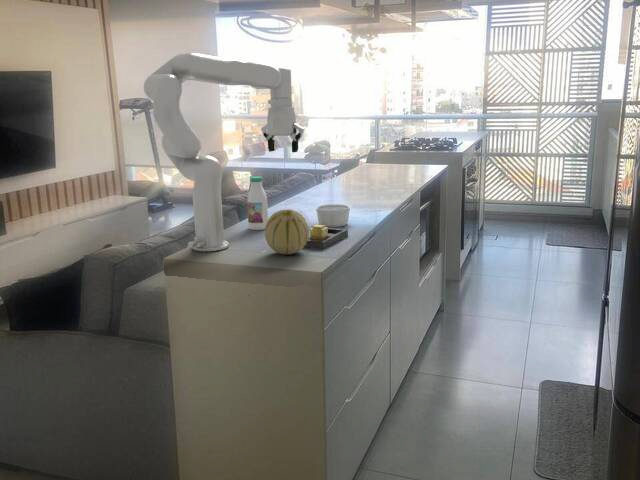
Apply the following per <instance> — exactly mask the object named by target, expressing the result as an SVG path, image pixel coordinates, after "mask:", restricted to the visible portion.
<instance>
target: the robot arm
mask: <svg viewBox="0 0 640 480" xmlns="http://www.w3.org/2000/svg"><path fill="white" fill-rule="evenodd" d="M186 81H195V82H202V83H207V84H208V83H209V84H216V85H221V86H249V87H251V88H252V89H256V90H269V91H270V99H268V100H267V104H268V105H269V104H270V107H268V110H267V120H266V121H267V122H266V125H264V126H262V127H260V130H261V133H262V134H263V136H264V138H265V140H266V141H267V149H268V152H270V153H271V152H275V149H276V148H275V139H274V138H275V137H276V136H277V137H279V136H280V137H282V136H283V137H287V136H289V137H290V138H291V139H292V140H291V152H292V153H297V152H299V151H298V150H299V141H300V139H301V138H302V137H303V134H304V132H305V128H304V127H303V126H301V125H299V124H298V123H297V118H296V111H295V107H294V106H293V94H292V89H293V88H292V70H291V69H290V68H289V67H288V66H274V65H271V64H265V63H258V62H251V61H244V60H238V59H231V58H226V57H219V56H213V55H209V54H208V55H207V54H204V53H196V52H187V53H186V52H185V53H179V54H176V55H175V56H173V57H171V58H170V59H169V60H168V61H166V62H165V63H164V64H163V65H161V66H160V67H159V68H157V69H156V70H154V72H152V73H151V74H150V75H149V76H147V78H146V79H145V80H144V84H143V92H144V94H145V96H146V97H147V98H148V99H150V100H151V101H152V102H153V103H152V114H153V115H152V116H153V118H154V122H155V124H156V125H157V127H158V128H159V129H160V131H161V133H162V136H161V145H162V149H163V151H164V153H165V154H166V155H167V157H168V159H169V160H170V161H171V162H172V164H173V166H175V168H176V169H177V170H178V172H179V173H180V174H181V175H182V176H183V177H184V178H185V179H187V180H189V181H191V182H193V189H192V204H193V206H192V207H193V217H194V218H193V219H194V231H195V236H194V239H193V240H192V241H189V242H188V243H187V247H188V248H189V249H192V250H193V251H196V252H204V253H205V252H206V251H207V252H217V250H218V251H221V250H225V249H227V248H229V246H230V243H229V242H228V241H227V240H225V235H224V218H223V203H222V202H223V201H222V182H223V180H222V179H223V167H222V164H221V163H220V161H219V160H218V159H217V158H216V157H214V156H212V155H210V154H209V155H208V154H203V153H200V152H201V150H202V143H201V139H200V137H199V136H198V135H197V134H196V132H195V130H194V129H193V128H192V126H191V125H190V124H189V122H188V120H187V119H186V118H185V116H184V115H183V112H182V111H181V107H180V106H181V105H180V100H181V96H182V93H183V84H184V82H186ZM297 131H298V133H297Z"/></svg>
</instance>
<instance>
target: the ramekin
mask: <svg viewBox="0 0 640 480" xmlns="http://www.w3.org/2000/svg"><path fill="white" fill-rule="evenodd" d="M350 208H351V207H350V205H347V204H339V203H336V204H335V203H332V204H330V203H329V204H322V205H318V206H316V209H315V210H316V215H317V221H318V225H325V227H328V228H338V227H339V228H340V227H345V226H346V225H347V224H348V223H349V217H350V210H351V209H350Z"/></svg>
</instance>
